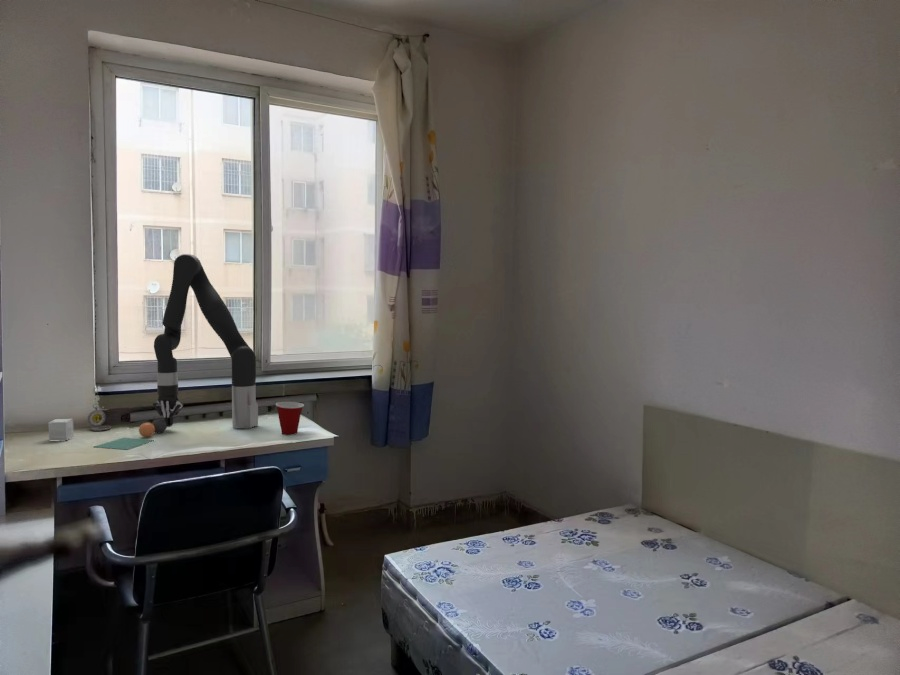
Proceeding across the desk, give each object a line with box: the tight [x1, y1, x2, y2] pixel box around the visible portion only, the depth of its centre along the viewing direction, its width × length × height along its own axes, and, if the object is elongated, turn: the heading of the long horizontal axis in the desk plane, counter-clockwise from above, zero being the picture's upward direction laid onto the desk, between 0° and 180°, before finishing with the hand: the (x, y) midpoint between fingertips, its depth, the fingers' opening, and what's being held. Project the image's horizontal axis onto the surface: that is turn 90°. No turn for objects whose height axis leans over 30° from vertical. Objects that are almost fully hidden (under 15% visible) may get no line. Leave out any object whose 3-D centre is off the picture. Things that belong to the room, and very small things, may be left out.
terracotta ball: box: [138, 422, 155, 438], centre depth 228 cm, size 6×6×6 cm
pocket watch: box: [87, 403, 112, 432], centre depth 240 cm, size 8×8×10 cm
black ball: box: [151, 418, 168, 434], centre depth 234 cm, size 6×6×6 cm
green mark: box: [93, 437, 155, 451], centre depth 218 cm, size 14×14×1 cm
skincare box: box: [47, 418, 75, 442], centre depth 223 cm, size 6×6×7 cm
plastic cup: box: [275, 401, 305, 435], centre depth 236 cm, size 11×11×12 cm
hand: (168, 426), depth 240 cm, fingers closed
